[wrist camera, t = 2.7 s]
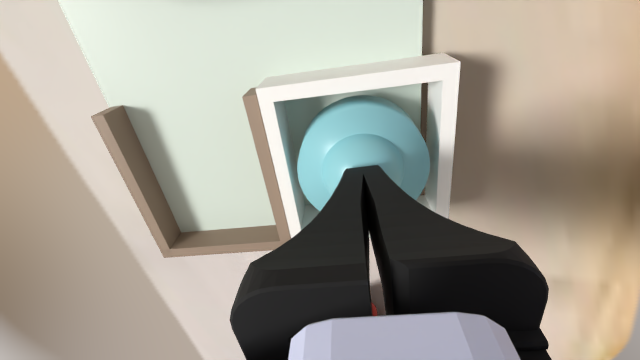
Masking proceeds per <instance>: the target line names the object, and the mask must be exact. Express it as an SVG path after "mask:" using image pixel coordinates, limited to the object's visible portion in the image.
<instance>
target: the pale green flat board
mask: <svg viewBox="0 0 640 360" xmlns="http://www.w3.org/2000/svg"><path fill="white" fill-rule="evenodd" d="M58 2H59V4H60V6H61V9H62V11H63V13H64V15H65V17H66V19H67V21H68V23H69V25H70V27H71V29H72V31H73V33H74V36H75V38H76V40H77V42H78V44H79V46H80V48H81V50H82V52H83V54H84V56H85V58H86V60H87V62H88V65H89V67H90V69H91V71H92V73H93V75H94V77H95V79H96V81H97V83H98V85H99V87H100V89H101V92H102V94H103V96H104V98H105V100H106V102H107V104H108V106H109V108H108V109H106V110H104V111H102V112H99V113H97V114H95V115H93V116H91V118H92V120H93V122H94V124H95V126H96V128H97V129H98V131H99V133H100V135H101V137H102V139H103V141H104V143H105V145H106V147H107V149H108V151H109V153H110V155H111V156H112V158H113V160H114V162H115V164H116V166H117V168H118V170H119V172H120V174H121V176H122V178H123V180H124V181H125V183H126V185H127V187H128V189H129V191H130V193H131V195H132V197H133V199H134V201H135V203H136V205H137V207H138V208H139V210H140V212H141V214H142V216H143V218H144V220H145V222H146V224H147V226H148V228H149V230H150V232H151V233H152V235H153V237H154V239H155V241H156V243H157V245H158V247H159V249H160V251H161V253H162V255H163V257H164V258H167V257H181V256H195V255H210V254H224V253H238V252H252V251H266V250H275V249H277V248H278V247H280V246H281V245H283V244H284V243H286V242H287V241H288V240H290V239H291V238H293V237H294V236H295V235H296V234H298V233H299V232H300V231H301V230H302V229H303V228H304V227H306V226H307V225H308V224H309V223H310V222H311V221H312V220H313V219H314V218H315V217H316V216H317V214H318V213H319V212H320V211H319V210H318V209H316V208H315V207H314V206H313V205H312V204H311V203H310V201H309V200H308V199H307V198H306V196H305V194H304V193H303V191H302V188H301V186H300V183H299V179H298V173H297V163H298V157H299V153H300V149H301V145H302V141H303V138H304V135H305V132H306V130H307V128H308V126H309V124H310V123H311V121H312V120H313V118H314V117H315V116H316V115H317V114H318V113H319V112H320V111H321V110H323V109H324V108H325V107H327V106H328V105H330V104H331V103H333V102H335V101H338V100H340V99H343V98H346V97H351V96H358V95H368V96H376V97H380V98H383V99H386V100H389V101H391V102H393V103H395V104H396V105H398V106H399V107H400V108H402V109H403V110H404V111H405V112H406V113H407V114H408V115H409V116H410V118H411V119H412V120H413V122H414V124H415V125H416V127H417V129H418V130H419V132H420V126H421V83H427V82H428V106H427V140H426V145H427V148H428V151H429V156H430V171H429V176H428V180H427V182H426V185H425V195H420V196H419V197H418V198H417V199H416V201H417V202H419V203H420V204H422V205H424V206H425V207H427V208H428V209H430V210H432V211H434V212H435V213H437V214H439V215H441V216H443V217H445V218H447V219H449V207H450V194H451V181H452V168H453V155H454V142H455V129H456V116H457V103H458V90H459V77H460V64H461V62H460V61H458V60H457V59H455V58H453V57H451V56H449V55H447V54H445V53H438V54H431V55H423V56H422V20H423V0H58ZM369 238H371V237H370V233H369Z"/></svg>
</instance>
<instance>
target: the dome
mask: <svg viewBox="0 0 640 360" xmlns="http://www.w3.org/2000/svg"><path fill="white" fill-rule="evenodd" d="M374 165H379V166H380V167H381V168H382V169H383V170H384V172H385V173H386V174H387V175H388V176H389V177H390V178H391V179H392V180H393V181H394V182H395V183H396V184H397V185H398V186H399V187H400V188H401V189H402V190H403V191H404V192H406V193H407V194H408V195H409V196H411V197H412V198H413V199H414V200H416V199H417V198H418V197H419V195H420V194H421V192H422V191H423V189H424V187H425V185H426V182H427V180H428V176H429V171H430V156H429V151H428V148H427V145H426V143H425V141H424V139H423V137H422V135H421V134H420V132H419V130H418V129H417V127H416V125H415V124H414V122H413V120H412V119H411V118H410V116H409V115H408V114H407V113H406V112H405V111H404V110H403V109H402V108H400V107H399V106H398V105H396V104H395V103H393V102H391V101H389V100H386V99H383V98H380V97H376V96H368V95H358V96H351V97H346V98H343V99H340V100H338V101H335V102H333V103H331V104H330V105H328V106H327V107H325V108H324V109H323V110H321V111H320V112H319V113H318V114H317V115H316V116H315V117H314V118H313V120H312V121H311V123H310V124H309V126H308V128H307V130H306V132H305V135H304V138H303V141H302V145H301V149H300V153H299V157H298V163H297V173H298V179H299V183H300V186H301V188H302V191H303V193H304V194H305V196H306V198H307V199H308V200H309V201H310V203H311V204H312V205H313V206H314V207H315V208H316V209H318V210H319V211H321V210H322V208H323V207H324V206H325V204H326V203H327V201H328V200H329V199H330V197H331V196H332V194H333V192H334V191H335V189H336V187H337V185H338V183H339V182H340V179H341V177H342V175H343V172H344V171H345V169H347V168H356V167H365V166H374Z"/></svg>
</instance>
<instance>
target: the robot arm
mask: <svg viewBox="0 0 640 360" xmlns="http://www.w3.org/2000/svg"><path fill="white" fill-rule="evenodd" d="M369 233H370V237H371V242H372V246H373V250H374V254H375V258H376V262H377V266H378V270H379V274H380V278H381V283H382V288H383V295H384V302H385V310H386V316H373V313H372V304H371V295H370V281H369ZM548 290H549V288H548V285H547V282H546V280H545V277H544V276H543V275H542V273H541V272H540V271H539V269H538V268H537V266H536V265H535V264H534V262H533V261H532V260H531V259H530V257H529V256H528V255H527V254H526V253H525V252H524V251H523V250H522V249H521V247H520V246H519V245H518V244H517V243H516V242H515V241H511V240H508V239H504V238H501V237H497V236H493V235H490V234H486V233H483V232H480V231H477V230H474V229H472V228H469V227H466V226H463V225H461V224H459V223H456V222H454V221H452V220H450V219H447V218H445V217H443V216H441V215H439V214H437V213H435V212H434V211H432V210H430V209H428V208H427V207H425V206H424V205H422V204H420V203H419V202H417V201H416V200H414V199H413V198H412V197H411V196H409V195H408V194H407V193H406V192H404V191H403V190H402V189H401V188H400V187H399V186H398V185H397V184H396V183H395V182H394V181H393V180H392V179H391V178H390V177H389V176H388V175H387V174H386V173H385V172H384V170H383V169H382V168H381V167H380V166H379V165H374V166H365V167H356V168H347V169H345V171H344V172H343V175H342V177H341V179H340V182H339V183H338V185H337V187H336V189H335V191H334V192H333V194H332V196H331V197H330V199H329V200H328V201H327V203H326V204H325V206H324V207H323V208H322V210H321V211H320V212H319V213H318V214H317V216H316V217H315V218H314V219H313V220H312V221H311V222H310V223H309V224H308V225H307V226H306V227H304V228H303V229H302V230H301V231H300V232H299V233H298V234H296V235H295V236H294V237H293V238H291V239H290V240H288V241H287V242H286V243H284V244H283V245H281V246H280V247H278V248H277V249H275V250H273V251H272V252H270V253H268V254H266V255H264V256H263V257H261V258H259V259H257V260H255V261H253V262H251V263H250V265H249V267H248V270H247V271H246V273H245V275H244V277H243V280H242V282H241V284H240V287H239V290H238V292H237V295H236V298H235V301H234V304H233V307H232V310H231V316H230V322H231V326H232V330H233V332H234V334H235V336H236V338H237V340H238V342H239V345H240V347H241V349H242V351H243V353H244V355H245V357H246V360H551V358H550V356H549V354H548V353H547V351H546V349H548V346H549V345H548V341H547V339H546V338H545V336H544V334H543V333H542V331H541V329H540V328H539V327H540V323H541V320H542V317H543V313H544V310H545V306H546V303H547V300H548Z"/></svg>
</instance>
